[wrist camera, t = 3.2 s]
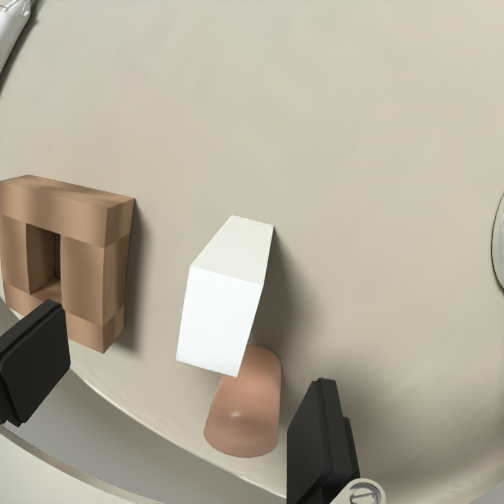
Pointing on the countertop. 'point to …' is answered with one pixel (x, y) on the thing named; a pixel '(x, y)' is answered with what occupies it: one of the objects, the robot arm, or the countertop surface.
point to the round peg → (247, 406)
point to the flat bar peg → (224, 296)
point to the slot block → (66, 254)
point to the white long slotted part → (12, 26)
